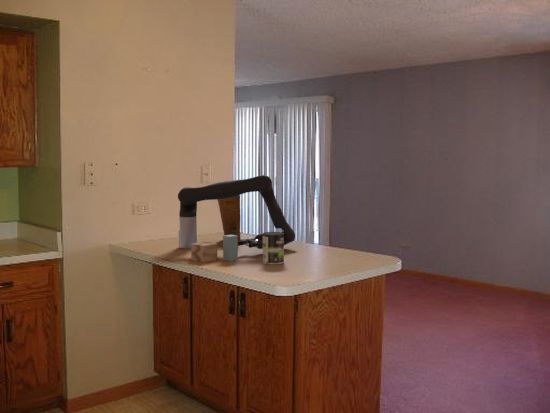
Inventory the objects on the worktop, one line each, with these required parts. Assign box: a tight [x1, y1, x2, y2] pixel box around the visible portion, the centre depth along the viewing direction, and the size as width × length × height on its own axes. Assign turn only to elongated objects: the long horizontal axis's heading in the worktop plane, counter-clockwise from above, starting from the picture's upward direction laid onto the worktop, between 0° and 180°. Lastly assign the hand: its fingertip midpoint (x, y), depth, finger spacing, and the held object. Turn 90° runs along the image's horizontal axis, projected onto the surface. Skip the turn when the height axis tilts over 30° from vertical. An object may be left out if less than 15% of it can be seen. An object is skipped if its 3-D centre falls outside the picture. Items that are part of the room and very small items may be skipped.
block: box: [190, 241, 218, 263], centre depth 277 cm, size 9×9×8 cm
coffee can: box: [261, 231, 285, 265], centre depth 269 cm, size 10×10×14 cm
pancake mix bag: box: [216, 195, 241, 241], centre depth 335 cm, size 7×19×28 cm, turn 43°
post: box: [222, 234, 239, 262], centre depth 276 cm, size 5×5×12 cm
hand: (243, 244), depth 282 cm, fingers open, 8 cm apart
